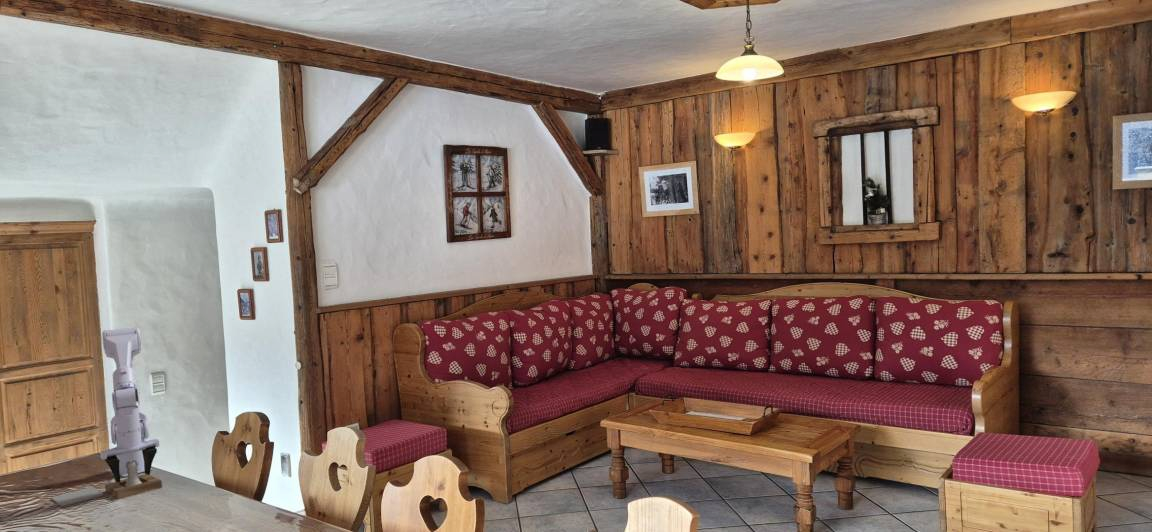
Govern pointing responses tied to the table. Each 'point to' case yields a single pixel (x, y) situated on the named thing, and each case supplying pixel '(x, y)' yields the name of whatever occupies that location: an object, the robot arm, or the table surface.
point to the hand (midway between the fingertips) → (132, 477)
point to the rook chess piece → (132, 474)
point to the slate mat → (77, 496)
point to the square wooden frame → (121, 491)
